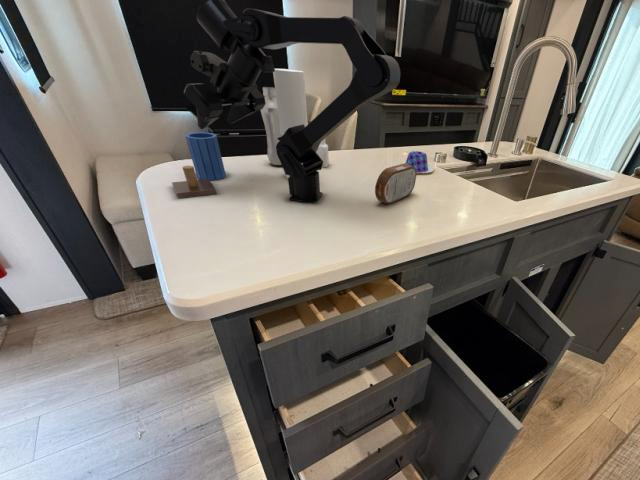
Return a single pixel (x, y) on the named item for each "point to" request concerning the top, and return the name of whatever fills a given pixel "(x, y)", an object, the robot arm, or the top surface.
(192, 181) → the stand
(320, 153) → the pepper shaker
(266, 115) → the plastic bottle
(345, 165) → the top surface
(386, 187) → the tin
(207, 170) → the blue ribbed vase
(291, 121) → the cylindrical container
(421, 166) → the blue checkered hat
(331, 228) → the top surface
